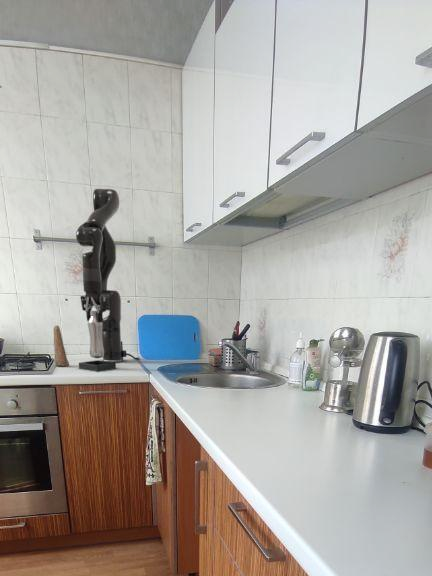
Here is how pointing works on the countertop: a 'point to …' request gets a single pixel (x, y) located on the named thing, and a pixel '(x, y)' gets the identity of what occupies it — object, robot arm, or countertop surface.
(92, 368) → the tray
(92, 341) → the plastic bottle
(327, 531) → the countertop surface
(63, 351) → the brown tapered cone
